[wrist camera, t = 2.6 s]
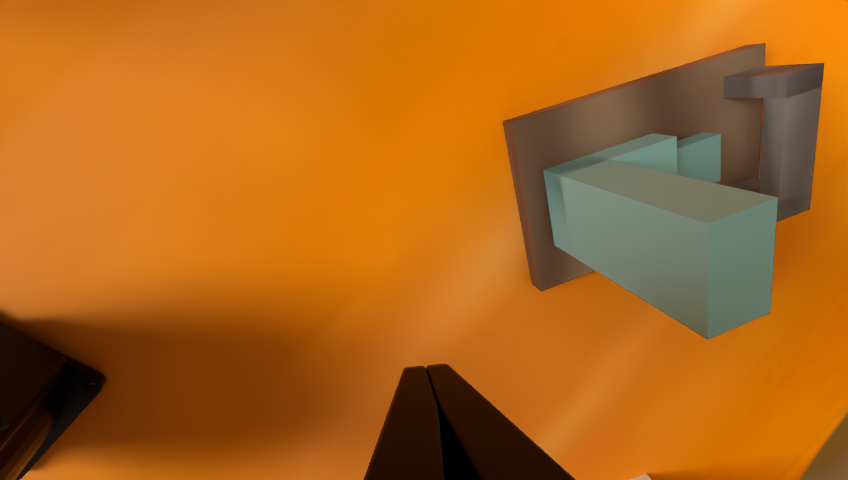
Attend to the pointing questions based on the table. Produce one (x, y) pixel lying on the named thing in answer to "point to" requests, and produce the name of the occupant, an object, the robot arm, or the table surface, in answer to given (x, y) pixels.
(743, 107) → the bracket
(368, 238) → the table surface
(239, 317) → the table surface
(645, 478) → the milk
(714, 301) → the teal block
